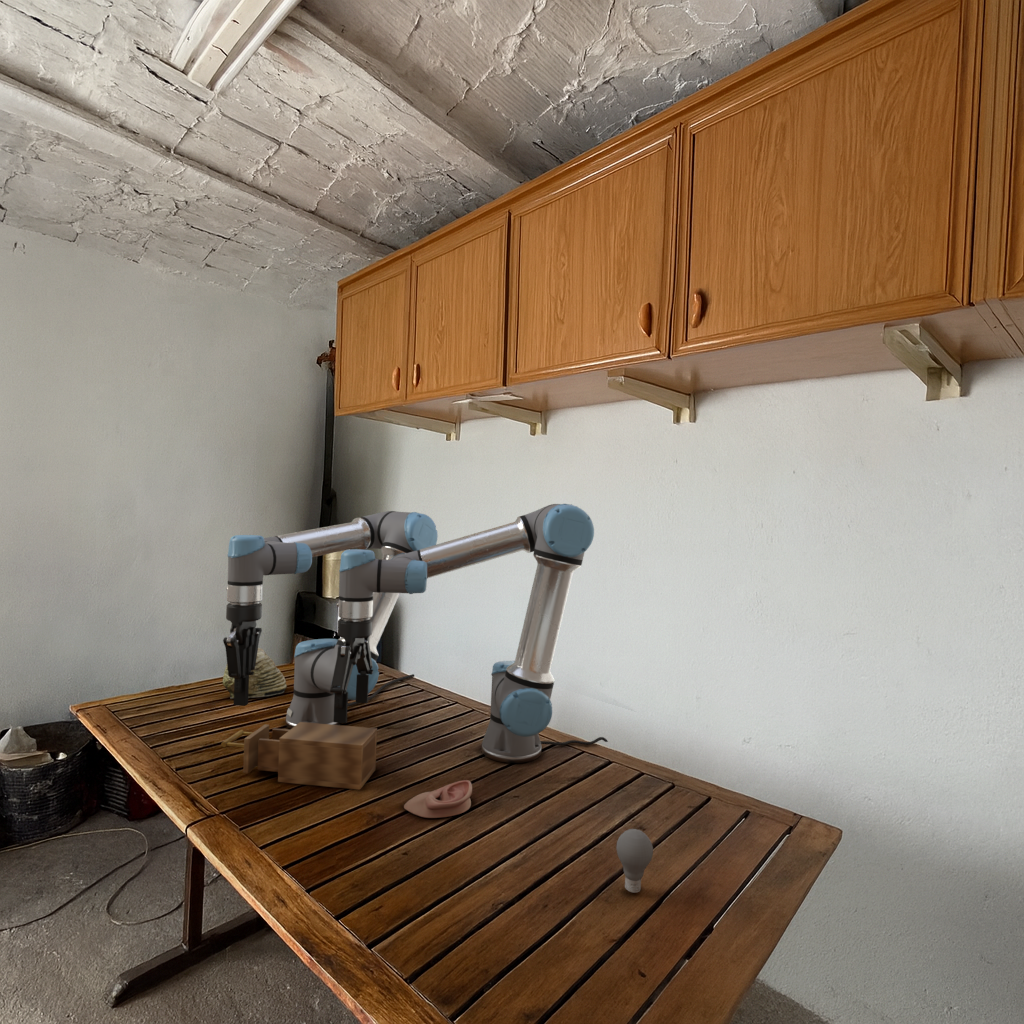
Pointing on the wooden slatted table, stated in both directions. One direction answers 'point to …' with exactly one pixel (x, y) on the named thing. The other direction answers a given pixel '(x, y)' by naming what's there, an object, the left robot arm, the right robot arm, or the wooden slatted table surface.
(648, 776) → the wooden slatted table surface
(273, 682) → the fossil
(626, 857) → the light bulb
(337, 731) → the cabinet
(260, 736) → the drawer
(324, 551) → the left robot arm
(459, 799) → the anatomical model
